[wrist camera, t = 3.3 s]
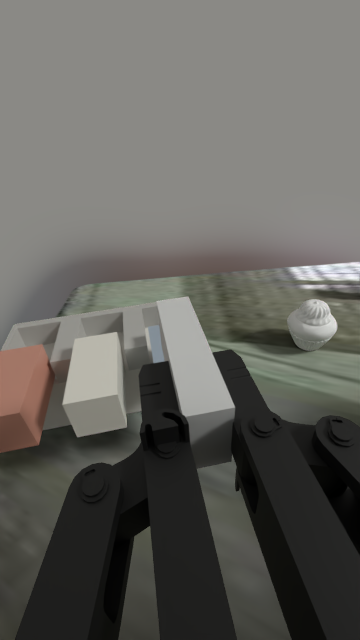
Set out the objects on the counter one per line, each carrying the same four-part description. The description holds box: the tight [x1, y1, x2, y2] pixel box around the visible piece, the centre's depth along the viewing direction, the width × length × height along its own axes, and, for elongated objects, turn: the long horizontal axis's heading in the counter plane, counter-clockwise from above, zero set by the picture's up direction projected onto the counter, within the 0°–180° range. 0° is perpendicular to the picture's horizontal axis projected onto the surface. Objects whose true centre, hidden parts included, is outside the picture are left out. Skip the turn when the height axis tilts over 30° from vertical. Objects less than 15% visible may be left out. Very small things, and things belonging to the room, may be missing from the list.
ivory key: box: [62, 332, 127, 437], centre depth 26 cm, size 4×8×4 cm, turn 11°
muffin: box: [287, 299, 337, 351], centre depth 39 cm, size 6×6×7 cm
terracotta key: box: [0, 344, 55, 453], centre depth 25 cm, size 4×8×4 cm, turn 11°
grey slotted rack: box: [1, 302, 159, 430], centre depth 34 cm, size 20×8×9 cm, turn 101°
